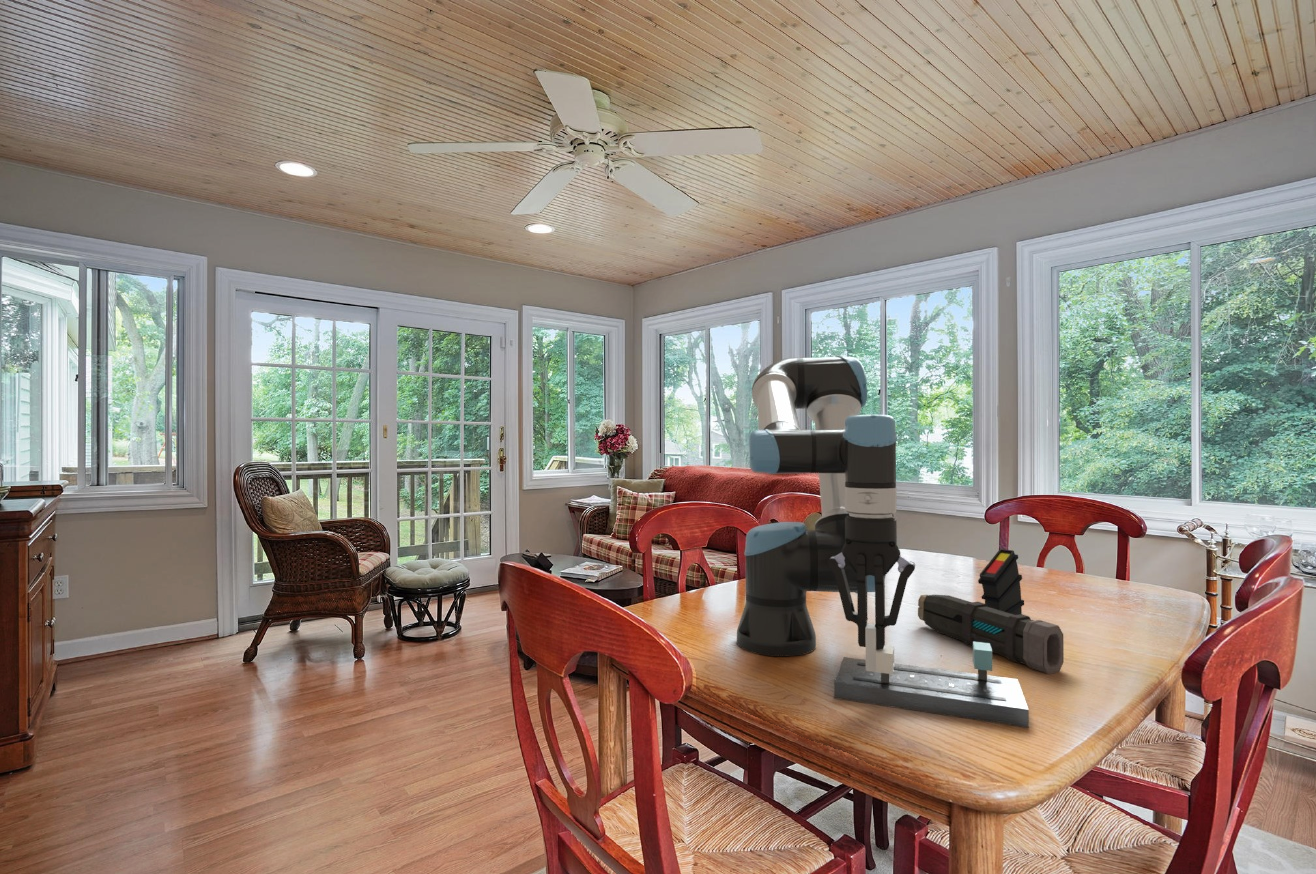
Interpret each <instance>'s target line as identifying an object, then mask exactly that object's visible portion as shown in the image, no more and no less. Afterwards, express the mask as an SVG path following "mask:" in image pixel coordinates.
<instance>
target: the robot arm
mask: <svg viewBox="0 0 1316 874" xmlns="http://www.w3.org/2000/svg"><path fill="white" fill-rule="evenodd" d="M867 382H868V381H867V375H866V371H865V368H864V366H863V364H862V362H861V361H860V360H859V359H858V358H856V357H853V356H841V355H838V356H833V357H788V358H784V359H779V360H777V361H775V362H773V363H771V364H769V365H768V366H766V367H765V368H764V369H763V370H761V372H760V373H758V375H757V376H756V378H755V380H754V381H753V383H752V388H751V398H752V401H753V404H754V406H755V407H756V408H757V420H758V423H757V424H758V430H757V429H756V430H753V431H751V432H750V434H749V468H750V470H751V471H752V472H754V473H761V474H770V475H775V474H818V481H819V483H818V484H819V495H820V496H819V497H820V506H821V509H820V510H821V516H820V517H819V518H818V519H817V520H816V521H815V523H814V529H813V530H812V529H809V530H808V527H807V526H806V523H804V522H801V521H792V522H791V521H781V522H772V523H767V524H762V525H758V526H754V527H752V528H751V529H749V530H748V531H747V533H746V536H745V550H744V551H743V552H744V553H743V554H744V556H745V605H744V606H743V610H742V614H741V616H740V620H739V623H738V627H737V630H736V644H737V645H738V646H739V647H740V648H741V649H743V650H745V651H747V652H751V653H754V654H758V655H763V656H770V657H794V656H801V655H805V654H808V653H811V652H812V651H814V650H815V649H816V647H817V635H816V631H815V628H814V625H813V623H812V619H811V617H810V613H809V610H808V607H807V592H823V593H824V592H826V593H829V592H830V593H839V596H840V597H839V598H840V601H841V605H842V608H843V612H844V617H845V619H846V621H847V622H852V623H854V624H856V625H857V637H858V638H857V644H858V646H859V647H860V648H861V647H862V648H865V660H866V671H871V672H876V649H883V648H884V645H886V633H885V632H886V628H887V627H889V626H893V627H894V626H896V625H897V621H898V618H899V614H900V611H901V610H900V609H901V607H902V606H901V605H902V602H903V597H904V594H905V591H906V586H907V582H908V579H909V578H910V577H911V575H912V574H913V573H914V571H915V569H916V564H915V561H913V560H912V561H911V560H908V559H906V558H905V557H903V556H902V555H901V551H900V549H899V547H898V542H897V541H898V540H897V539H898V538H897V536H898V535H897V533H898V532H897V529H898V526H897V524H898V523H897V519H896V517H895V516H893V515H894V514H896V513H897V440H898V435H897V434H896V433H897V432H896V421H895V418H894V417H893V416H891V415H890V414H889V415H888V414H860V413H861V411H862V408H864V407H865V406H866V404H867V402H868V401H867V399H868V387H867V384H868V383H867ZM797 409H802V410H804V409H805V410H806V414H807V417H808V418H809V419H810V420H811V421H812V422H814V429H801V426H800V423H799V418H798V414H797ZM896 563H897V565H898V566H897V571H898V573H899V576H898V579H897V583H896V588H895V592H894V595H893V599H892V603H891V608H890V610H889V614H888V615H886V597H885V596H886V595H885V594H886V590H885V587H886V582H885V580H886V576H887V575H888V573H889V572H890V571H891V570H892V568H893V567H894V566H895V564H896ZM852 593H854V594H857V598H856V599H857V600H856V601H857V612H856V610H855V606H854V603H853V598H852V595H851V594H852ZM868 593H874V608H875V609H874V612H875V613H874V616H875V617H874V618H875V619H874V621H875V622H874V623H868V620H869V618H868Z"/></svg>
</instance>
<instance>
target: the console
mask: <svg viewBox="0 0 1316 874" xmlns="http://www.w3.org/2000/svg"><path fill="white" fill-rule="evenodd" d="M833 683H834V684H833V685H834V686H833V687H834V690H833V692H834V693H833V695H834V696H833V697H834V699H838V700H845V701H852V702H857V703H863V704H871V705H876V706H877V705H878V706H884V707H890V708H897V709H903V710H904V709H905V710H910V711H917V712H923V713H929V714H935V715H936V714H937V715H943V716H949V717H956V718H963V719H969V720H976V721H982V722H987V723H988V722H989V723H995V724H1001V725H1008V726H1014V727H1021V728H1028V729H1029V727H1030V713H1029V712H1030V709H1029V707H1028V704H1027V701H1026V698H1025V696H1024V694H1023V690H1022V687H1021V684H1020V682H1019V680H1018V678H1011V677H1007V676H1006V677H1004V676H997V675H996V676H995V675H989V674H987V680H982V679H978V673H975V672H974V673H973V672H966V671H956V670H950V669H942V668H934V667H933V668H932V667H926V666H919V665H910V664H904V663H903V664H902V663H895V662H894V670H893V674H890V682H889V683H884V682H881V673H880V672H871V671H866V659H864V658H863V659H862V658H861V659H860V658H856V657H848V656H843V659H842V661H841V664H840V666H839V668H838V670H837V674H836V677H835V679H834V680H833Z"/></svg>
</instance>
